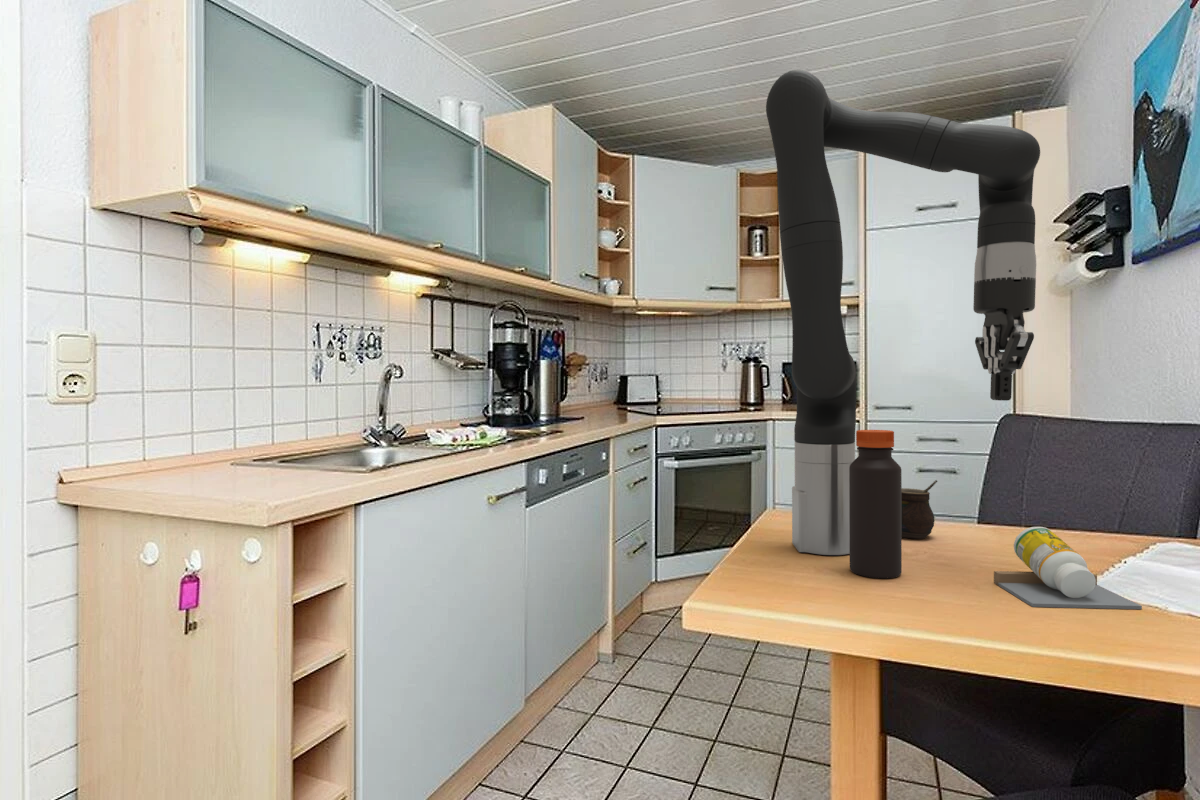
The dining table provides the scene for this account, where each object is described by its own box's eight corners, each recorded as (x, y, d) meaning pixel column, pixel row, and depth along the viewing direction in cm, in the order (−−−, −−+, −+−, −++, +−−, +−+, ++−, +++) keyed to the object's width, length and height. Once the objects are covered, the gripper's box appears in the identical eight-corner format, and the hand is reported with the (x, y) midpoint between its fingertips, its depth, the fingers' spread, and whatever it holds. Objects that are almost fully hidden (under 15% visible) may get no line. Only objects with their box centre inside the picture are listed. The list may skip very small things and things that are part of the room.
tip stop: (1032, 606, 78) (1032, 593, 78) (993, 582, 88) (993, 570, 88) (1141, 609, 77) (1141, 595, 77) (1091, 584, 86) (1091, 572, 86)
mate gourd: (883, 531, 119) (883, 475, 119) (927, 532, 118) (928, 476, 118) (895, 540, 112) (895, 481, 111) (942, 542, 111) (943, 482, 110)
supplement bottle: (1003, 545, 89) (1044, 587, 80) (1034, 517, 87) (1080, 556, 78) (1032, 567, 90) (1076, 610, 81) (1063, 539, 88) (1112, 581, 79)
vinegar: (861, 563, 98) (861, 428, 98) (909, 572, 93) (909, 430, 93) (841, 572, 93) (840, 431, 93) (889, 582, 88) (889, 433, 88)
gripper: (957, 285, 101) (954, 398, 102) (997, 271, 88) (994, 401, 89) (1010, 285, 100) (1006, 399, 101) (1058, 271, 87) (1054, 402, 88)
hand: (1000, 400), depth 95 cm, fingers closed
